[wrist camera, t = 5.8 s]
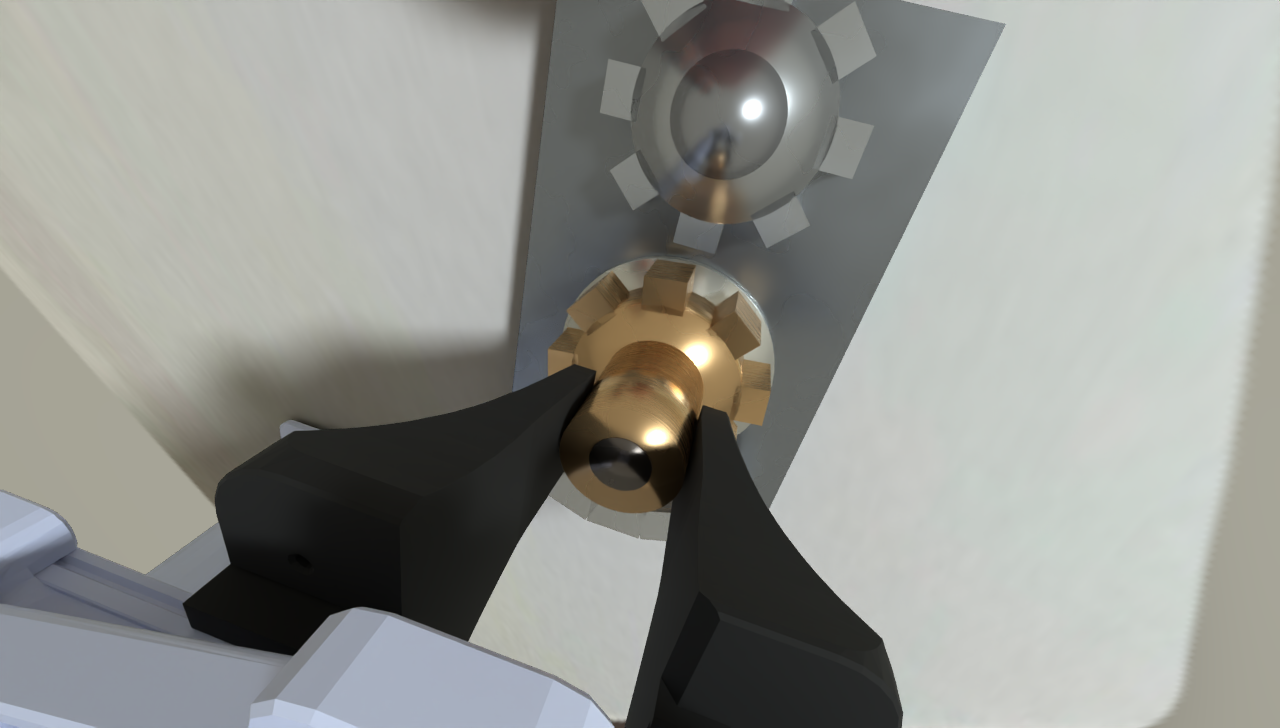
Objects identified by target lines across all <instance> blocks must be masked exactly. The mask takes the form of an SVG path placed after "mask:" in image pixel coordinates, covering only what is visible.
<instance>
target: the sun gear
mask: <svg viewBox="0 0 1280 728" xmlns="http://www.w3.org/2000/svg"><path fill="white" fill-rule="evenodd" d="M641 1H642V3H643V5H644V7H645V9H646V11H647V13H648V15H649V17H650V19H651V21H652V23H653V25H654V27H655V29H656V31H657V33H658V35H659V37H658V38H657V40H656V41H655V43H654V44H653V46H652V47H651V49H650V50H649V52H648V54H647V56H646V58H645V60H644V62H643V64H642V66H641V67H639V66H635V65H631V64H627V63H623V62H619V61H615V60H611V59H608V65H607V71H606V78H605V84H604V90H603V96H602V102H601V108H600V113H603V114H607V115H610V116H614V117H618V118H622V119H626V120H629V121H631V132H632V140H633V144H634V149H635V153H634V154H633V155H631V156H630V157H628V158H627V159H626V160H624V161H623V162H621V163H620V164H618V165H617V166H615V167H614V168H613V169H611V170H610V172H611V173H612V175H613V177H614V178H615V180H616V182H617V184H618V185H619V187H620V189H621V191H622V192H623V194H624V196H625V198H626V199H627V201H628V203H629V204H630V206H631V208H632V210H635V209H636V208H638V207H639V206H641V205H643V204H644V203H646V202H647V201H649V200H650V199H652V198H654V197H655V196H657V195H658V194H659V195H660V196H661V197H662V198H663V199H664V200H665V201H666V202H667V203H668V204H670V205H671V206H672V207H674V208H675V209H677V210H678V211H680V212H681V213H680V217H679V221H678V224H677V228H676V232H675V236H674V240H673V242H674V243H677V244H681V245H684V246H688V247H691V248H695V249H698V250H702V251H705V252H709V253H712V254H715V251H716V249H717V246H718V244H719V241H720V237H721V234H722V231H723V228H724V224H736V223H742V222H748V221H752V220H753V222H754V224H755V226H756V228H757V230H758V232H759V234H760V236H761V238H762V240H763V242H764V244H765V246H766V248H768V247H770V246H772V245H774V244H776V243H778V242H780V241H782V240H783V239H785V238H787V237H789V236H791V235H793V234H795V233H797V232H799V231H801V230H803V229H804V228H806V227H808V226H810V224H809V222H808V220H807V218H806V216H805V213H804V211H803V209H802V207H801V205H800V203H799V201H798V199H797V197H796V196H797V195H798V194H799V193H800V192H801V191H802V190H803V189H804V188H805V187H806V186H807V185H808V184H809V182H810V181H811V180H812V178H813V177H814V176H815V174H816V173H817V172H818V170H819V171H823V172H827V173H831V174H835V175H838V176H842V177H846V178H850V179H852V178H853V176H854V174H855V171H856V169H857V166H858V164H859V161H860V159H861V157H862V154H863V152H864V149H865V147H866V145H867V142H868V140H869V137H870V135H871V133H872V130H873V128H874V125H870V124H866V123H862V122H858V121H854V120H850V119H846V118H842V117H839V108H840V87H839V80H840V79H841V78H843V77H844V76H846V75H848V74H849V73H851V72H852V71H854V70H855V69H857V68H859V67H860V66H862V65H863V64H865V63H866V62H868V61H870V60H871V59H873V58H874V57H876V53H875V51H874V48H873V46H872V43H871V41H870V38H869V35H868V33H867V30H866V28H865V25H864V23H863V20H862V18H861V15H860V12H859V10H858V7H857V5H856V2H855V1H854V2H853V3H851V4H850V5H848V6H847V7H845V8H844V9H842V10H841V11H840V12H838V13H837V14H835V15H834V16H832V17H831V18H829V19H828V20H827V21H825V22H824V23H822V24H821V25H819V26H818V27H816V26H815V24H814V23H813V22H812V21H811V20H810V19H809V18H808V17H807V16H806V15H805V14H804V13H802V12H801V11H800V10H798V9H797V8H795V7H794V6H793V5H792V2H793V0H705V1H704V0H641Z"/></svg>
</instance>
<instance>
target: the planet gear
mask: <svg viewBox="0 0 1280 728" xmlns="http://www.w3.org/2000/svg"><path fill="white" fill-rule="evenodd" d="M695 270H696V265H692V264H685V263H679V262H672V261H666V260H659V259H657V260H656V261H655V262H654V264H653V265H652V266H651V267H650V269H649V270H648V271H647V273H646V274H645V275H644V281H643V287H640V288H637V289H634V290H631V291H628V289H627V288H626V287H625V286H624V284H623V283H622V282H621V281H620V279H619V278H618V277H617V276H616V274H615V273H614V272H613V271H611V272H609V273H608V274H607V275H606V276H604V277H603V278H602V279H601V280H599V281H598V282H597V283H596V284H594V285H593V286H592V287H591V288H589V289H588V290H587V291H586V292H585V293H584V294H582V295H581V296H580V297H579V298H578V299H577V300H576V301H575V302H574V303H573V304H572V305H571V306H570V307H569V308H568V309H567V310H566V311H567V313H568V314H569V315H570V316H571V317H572V319H573V320H574V321H575V322H576V323H577V324H578V326H579V327H580V328H581V329H582V330H581V329H576V328H571V327H568V328H567V329H566V330H565V331H564V332H563V333H562V334H561V335H560V336H559V337H558V339H557V340H556V341H555V342H554V343H553V344H552V345H551V346H550V347H549V348H548V376H550V375H552V374H554V373H556V372H558V371H560V370H562V369H565V368H567V367H569V366H571V365H573V364H576V365H579V366H583V367H586V368H589V369H592V370H595V371H596V376H595V381H594V386H593V387H592V389H591V391H590V392H589V394H588V395H587V397H586V398H585V400H584V401H583V403H582V405H581V406H580V408H579V409H578V411H577V412H576V414H575V416H574V417H573V419H572V420H571V422H570V423H569V425H568V426H567V428H566V430H565V431H564V433H563V435H562V438H561V442H560V449H559V452H560V460H561V464H562V467H563V469H564V471H565V473H566V475H567V477H568V479H569V480H570V481H571V483H572V484H573V485H574V486H575V488H576V489H577V490H579V491H580V492H581V493H582V494H583V495H584V496H586V497H587V498H588V499H590V500H591V501H593V502H595V503H596V504H598V505H600V506H603V507H605V508H608V509H611V510H614V511H618V512H623V513H646V512H651V511H654V510H657V509H660V508H662V507H664V506H665V505H667V504H668V503H670V502H671V501H672V500H673V499H674V498H675V497H676V496H677V494H678V493H679V492H680V490H681V488H682V485H683V482H684V478H685V474H686V469H687V465H688V461H689V456H690V452H691V446H692V442H693V437H694V433H695V429H696V424H697V420H698V417H699V414H700V412H701V409H702V406H703V405H705V406H708V407H711V408H714V409H717V410H721V411H724V412H727V414H728V416H729V419H730V423H731V426H732V429H733V433H734V436H735V438H736V437H737V427H738V426H737V425H736V424H735V423H734V420H735V421H740V422H745V423H750V424H755V425H760V426H762V424H763V420H764V416H765V412H766V408H767V405H768V401H769V397H770V393H771V364H767V363H762V362H756V361H751V360H745V359H744V355H745V354H747V353H748V352H750V351H752V350H754V349H755V348H757V347H759V346H760V345H761V320H760V319H759V317H758V316H757V315H756V313H755V312H754V311H753V309H752V308H751V307H750V305H749V304H748V303H747V301H746V300H745V298H744V297H743V296H742V294H741V293H740V292H739V291H737V292H736V293H734V294H733V295H731V296H730V297H728V298H727V299H725V300H724V301H722V302H721V303H719V304H718V305H716V306H715V305H714V304H713V303H712V302H710V301H709V300H707V299H706V298H704V297H702V296H700V295H698V294H696V293H694V292H692V290H693V283H694V276H695Z"/></svg>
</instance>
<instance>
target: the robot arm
mask: <svg viewBox="0 0 1280 728" xmlns="http://www.w3.org/2000/svg"><path fill="white" fill-rule="evenodd" d="M595 376H596V371H595V370H592V369H589V368H586V367H583V366H579V365H576V364H573V365H571V366H569V367H567V368H565V369H562V370H560V371H558V372H556V373H554V374H552V375H550V376H548V377H546V378H544V379H542V380H540V381H538V382H535V383H533V384H531V385H529V386H527V387H525V388H522V389H520V390H517V391H515V392H512V393H510V394H507V395H504V396H502V397H499V398H497V399H494V400H492V401H489V402H486V403H483V404H480V405H477V406H474V407H470V408H466V409H463V410H459V411H456V412H452V413H448V414H443V415H438V416H433V417H428V418H423V419H419V420H414V421H408V422H402V423H395V424H388V425H379V426H370V427H360V428H348V429H328V430H320V429H317V428H314V427H311V426H308V425H306V424H303V423H300V422H297V421H294V420H288V421H286V422H284V423H283V424H281V425H280V435H281V439H280V440H279V441H277V442H276V443H274V444H272V445H271V446H269V447H268V448H266V449H265V450H263V451H262V452H260V453H259V454H257V455H255V456H254V457H252V458H251V459H249V460H248V461H246V462H245V463H243V464H241V465H240V466H238V467H237V468H235V469H234V470H232V471H231V472H229V473H227V474H226V476H225V477H224V478H223V479H222V480H221V481H220V482H219V483H218V487H217V491H216V494H215V506H216V514H217V518H218V521H219V522H218V523H216V524H215V525H214V526H212V527H211V528H209V529H208V530H207V531H205V532H204V533H202V534H201V535H200V536H198V537H197V538H196V539H194V540H193V541H191V542H190V543H189V544H187V545H186V546H184V547H183V548H182V549H180V550H179V551H178V552H176V553H175V554H174V555H172V556H171V557H169V558H168V559H166V560H165V561H164V562H162V563H161V564H160V565H158V566H157V567H155V568H154V569H153V570H151V571H150V572H148V573H147V574H146V575H145V574H142V573H140V572H137V571H135V570H132V569H130V568H127V567H125V566H122V565H120V564H117V563H115V562H112V561H110V560H107V559H105V558H102V557H100V556H97V555H95V554H92V553H90V552H87V551H85V550H82V549H80V548H78V547H77V540H76V537H75V534H74V532H73V530H72V528H71V527H70V525H69V524H68V522H67V521H66V520H65V519H64V518H63V517H62V516H61V515H59V514H58V513H57V512H55V511H53V510H51V509H50V508H48V507H45V506H43V505H40V504H37V503H35V502H32V501H30V500H27V499H25V498H22V497H20V496H17V495H15V494H12V493H10V492H7V491H4V490H0V728H614V726H613V724H612V722H611V720H610V719H609V717H608V716H607V715H606V714H605V713H604V711H603V710H602V709H601V708H600V707H599V706H598V705H597V703H596V702H595V701H594V700H593V699H592V698H591V696H590V695H589V694H587V693H585V692H584V691H582V690H580V689H578V688H576V687H575V686H573V685H571V684H569V683H568V682H566V681H564V680H562V679H561V678H559V677H557V676H555V675H552V674H550V673H547V672H545V671H542V670H540V669H537V668H534V667H532V666H529V665H527V664H524V663H521V662H519V661H516V660H514V659H511V658H509V657H506V656H503V655H501V654H498V653H496V652H493V651H491V650H488V649H485V648H483V647H480V646H478V645H475V644H472V643H470V642H468V641H469V638H470V636H471V634H472V632H473V630H474V628H475V626H476V624H477V622H478V620H479V618H480V616H481V614H482V612H483V610H484V608H485V606H486V604H487V602H488V600H489V598H490V596H491V594H492V592H493V590H494V588H495V586H496V584H497V582H498V580H499V578H500V576H501V574H502V572H503V570H504V568H505V566H506V565H507V563H508V561H509V559H510V557H511V555H512V553H513V551H514V549H515V547H516V545H517V544H518V542H519V540H520V539H521V537H522V535H523V533H524V532H525V530H526V529H527V527H528V525H529V524H530V522H531V521H532V519H533V518H534V516H535V515H536V513H537V512H538V510H539V509H540V507H541V506H542V504H543V503H544V501H545V500H546V498H547V497H548V495H549V494H550V492H551V491H552V489H553V488H554V486H555V485H556V483H557V482H558V480H559V479H560V477H561V476H562V474H563V472H564V469H563V467H562V464H561V460H560V452H559V449H560V442H561V438H562V435H563V433H564V431H565V430H566V428H567V426H568V425H569V423H570V422H571V420H572V419H573V417H574V416H575V414H576V412H577V411H578V409H579V408H580V406H581V405H582V403H583V401H584V400H585V398H586V397H587V395H588V394H589V392H590V391H591V389H592V387H593V386H594V381H595ZM902 718H903V711H902V707H901V702H900V698H899V694H898V690H897V685H896V681H895V678H894V674H893V670H892V667H891V664H890V661H889V658H888V655H887V652H886V649H885V646H884V643H883V640H882V638H881V637H880V636H879V635H878V634H877V633H876V632H874V631H873V630H872V629H871V628H870V627H869V626H868V625H867V624H866V623H865V622H864V621H863V620H862V619H861V618H860V617H859V616H858V615H857V614H855V613H854V612H853V611H852V610H851V609H850V608H849V607H848V606H847V605H846V604H845V603H844V602H843V601H842V600H841V599H840V598H839V597H838V596H837V595H836V594H835V593H834V592H833V591H832V590H831V589H830V588H829V586H828V585H827V584H826V583H825V582H824V581H823V580H822V579H821V578H820V577H819V576H818V575H817V573H816V572H815V571H814V570H813V569H812V568H811V566H810V565H809V564H808V563H807V562H806V560H805V559H804V558H803V557H802V556H801V554H800V553H799V552H798V550H797V549H796V548H795V547H794V545H793V544H792V543H791V541H790V540H789V539H788V537H787V536H786V535H785V533H784V532H783V530H782V529H781V528H780V526H779V525H778V523H777V522H776V520H775V519H774V517H773V515H772V514H771V512H770V511H769V509H768V508H767V506H766V505H765V503H764V501H763V499H762V497H761V495H760V494H759V492H758V490H757V488H756V486H755V484H754V482H753V480H752V478H751V475H750V473H749V471H748V469H747V466H746V464H745V462H744V459H743V457H742V455H741V452H740V449H739V447H738V444H737V441H736V438H735V436H734V433H733V429H732V426H731V423H730V419H729V416H728V414H727V412H724V411H721V410H717V409H714V408H711V407H708V406H705V405H703V406H702V409H701V412H700V414H699V417H698V420H697V424H696V429H695V433H694V437H693V442H692V446H691V452H690V456H689V461H688V465H687V469H686V474H685V478H684V482H683V485H682V488H681V490H680V492H679V493H678V494H677V496H676V497H675V498H674V499H673V500H672V507H671V514H670V520H669V527H668V534H667V541H666V548H665V555H664V562H663V569H662V576H661V582H660V587H659V592H658V597H657V601H656V605H655V609H654V613H653V617H652V621H651V625H650V629H649V633H648V637H647V641H646V645H645V649H644V653H643V657H642V661H641V665H640V669H639V673H638V677H637V681H636V685H635V689H634V693H633V697H632V701H631V704H630V708H629V712H628V716H627V720H626V724H625V728H902Z"/></svg>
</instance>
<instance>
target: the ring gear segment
mask: <svg viewBox="0 0 1280 728" xmlns="http://www.w3.org/2000/svg"><path fill="white" fill-rule="evenodd" d="M549 496H550V497H552V498H553V499H555V500H556V501H558V502H559V503H561V504H562V505H564V506H565V507H567V508H568V509H570V510H571V511H573V512H574V513H576V514H577V515H579V516H580V517H582V518H583V519H586V518H587V517H588V518H587V521H590V522H593V523H596V524H599V525H602V526H604V527H607V528H610V529H613V530H616V531H619V532H621V533H624V534H627V535H630V536H633V537H636V538H639V535H640V539H647V540H659V541H667V534H668V527H669V520H670V514H671V507H672V501H671V502H670V503H668V504H667V505H665V506H664V507H662V508H660V509H657V510H654V511H651V512H646V513H623V512H618V511H614V510H611V509H608V508H605V507H603V506H600V505H598V504H596V503H595V502H593V501H591V500H590V499H588V498H587V497H586V496H584V495H583V494H582V493H581V492H580V491H579V490H577V489H576V488H575V486H574V485H573V484H572V483H571V481H570V480H569V479H568V477H567V475H566V473H565V471H564V472H563V474H562V476H561V477H560V479H559V480H558V482H557V483H556V485H555V486H554V488H553V489H552V491H551V492H550V494H549Z"/></svg>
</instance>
